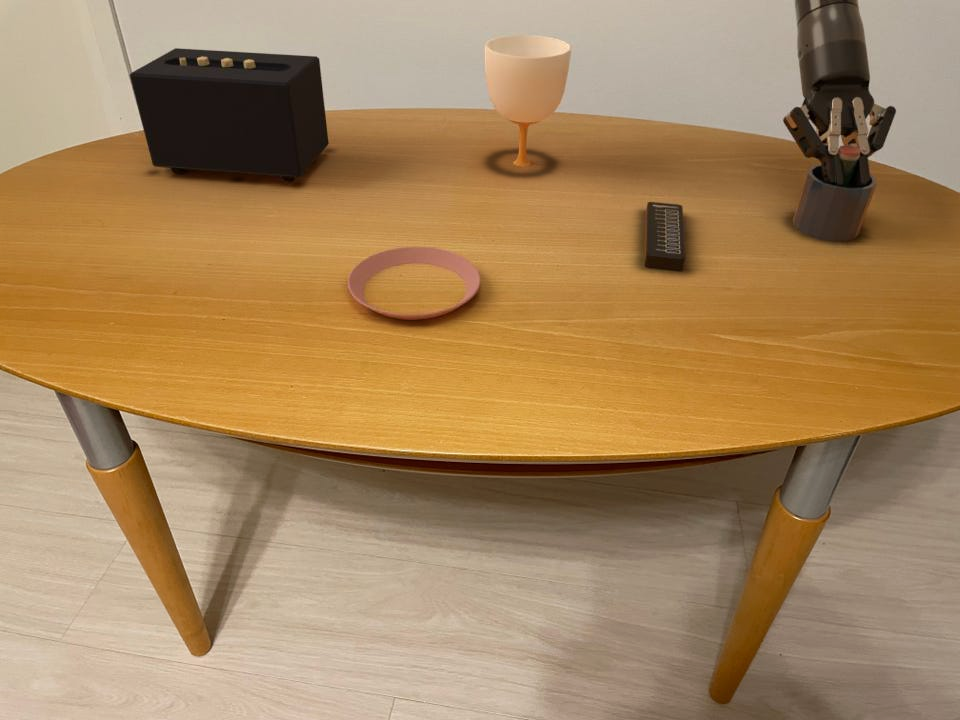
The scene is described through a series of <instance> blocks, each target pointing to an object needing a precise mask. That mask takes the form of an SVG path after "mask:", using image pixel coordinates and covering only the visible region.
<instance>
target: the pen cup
mask: <svg viewBox="0 0 960 720" xmlns="http://www.w3.org/2000/svg"><path fill="white" fill-rule="evenodd" d="M877 183H878V182H877V178H876V177H875V175H873V174H871V173H870V180H869V182H868V183H867V185H866V187H862V188H851V182H850V185H849V188H847V187H839V186H835V185H831V184H828V183H825V182H823V174H822V166H821V163H817V164H815V165H811V167H809V168H807V171H806V175H805V178H804V181H803V184H802V188H801V192H800V194H799V198H798V202H797V205H796V208H795V211H794V214H793V219H792V225H793V227H794V228H795V229H796V230H797V231H798V232H800V233H802V234H803V235H806V236H807V237H810V238H814V239H816V240H820V241H824V242H831V243H832V242H833V243H841V242H849V241H851V240H852V241H853V240H855V239H856V238H857V237H858V236H859V234H860V231H861V228H862V226H863V223H864V220H865V217H866V215H867V213H868V210H869V206H870V204H871V201H872V198H873V195H874V193H875V189H876V187H877Z"/></svg>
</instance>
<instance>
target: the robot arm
mask: <svg viewBox="0 0 960 720" xmlns="http://www.w3.org/2000/svg"><path fill="white" fill-rule="evenodd" d="M794 12H795V20H796V27H797V28H796V29H797V30H796V31H797V32H796V33H797V36H796V37H797V38H796V49H797V59H798V67H799V76H800V84H801V92H802V93H801V94H802V97H803V98H804V99H803V101H802V104H801V106H800V107H799V106H795V107H793V109H792V110H790V111H789V112H788V113H787V114H786V115H785V116H784V117H783V119H782V122H783V124H784V126H785V127H786V129H787V130H788V132H789V134H790V135H791V137H792V138H793V140H794V141H795V143H796V145H797V146H798V148H799V149H800V151H801V152H802V154H803V156H804V157H805V158H806V159H811V158H814V159H817V160H818V161H819V162H820V164H821V166H822V174H823V182H825V183H828V184H831V185H835V186H839V187H842V186H843V175H842V167H841V159H840V156H837V153H838V151H839V147H840V146H839V145H840V143H839V141H840V139H839V138H841V142H842V144H843V145H849V146H854V147H857V148H859V149H860V150H861V152H860V157H859V159H858V161H857V164H856V167H855V170H854V173H853V176H852V179H851V188H862V187H866V185H867V183H868V182H869V180H870V174H871V173H870V164H869V158H870V157H871V156H873V155H874V154H875V153H877V152H878V151H880V150H882V149H883V148H884V145H885V143H886V141H887V137H888V135H889V132H890V130H891V127H892V124H893V121H894V119H895V116H896V113H897V109H896V107H895V106H894V105H889V106H887V107H883V106H881V105H879V104H876V103H875V99H874V97H873V95H872V94H871V92H870V81H871V73H870V66H869V58H868V57H869V56H868V50H867V42H866V35H865V34H866V33H865V28H864V22H863V20H862V16H861V13H860V6H859V0H794ZM868 116H869V123H868V124H869V126H870V130H869V128H868V124H867V121H866V120H867V118H868ZM812 124H813V125H812ZM813 126H814V127H815V128H816V129H815V128H814V127H813ZM843 145H842V146H843Z"/></svg>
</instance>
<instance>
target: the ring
mask: <svg viewBox="0 0 960 720" xmlns="http://www.w3.org/2000/svg"><path fill="white" fill-rule="evenodd" d="M403 265H429V266H436V267H440V268H443V269H445V270H448V271H451V272H452V273H454V274H455V275H457V276H458V277H459V278H460V279H461V280H462V281H463V283H464V286H465V293H464V295H463V297H462V299H461V300H460V301H459V302H458V303H457V304H455V305H452V306H450V307H447V308H444V309H440V310H436V311H431V312H423V313H399V312H393V311H392V312H391V311H386V310H383V309H379V308H377V307H374V306H372V305H371V304H370V303H369V302H368V301H367V299H366V297H365V293H364V291H365V287H366V284H367V283H368V282H369V280H371V278H373V277H374V276H375V275H376V274H379V273H380V272H382V271H384V270H385V271H386V270H388V269H390V268H394V267H398V266H403ZM481 281H482V280H481V273H480V271H479V270H478V268H477V267H476V265H475V264H474V263H473V262H472V261H470V260H469V259H467V258H465V256H463V255H460V254H458V253H456V252H454V251H450V250H447V249H444V248H443V249H442V248H437V247H431V246H404V247H396V248H391V249H387V250H383V251H380V252H377V253H375V254H372V255H370V256H368V257H366V258H364V259H363V260H361V261H359V263H358V264H356V265H355V266H354V267H353V268H352V270H351V271H350V273H349V275H348V277H347V288H348V291H349V293H350V295H351V296H352V297H353V299H354V300H356V301H357V302H358V303H359V304H361V305H362V306H364V307H365V308H368V309H369V310H371V311H373V312H375V313H377V314H379V315H381V316H385V317H388V318H392V319H398V320H405V321H408V320H409V321H410V320H411V321H413V320H415V321H416V320H417V321H418V320H427V319H433V318H437V317H441V316H444V315H446V314H449V313H451V312H453V311H455V310H457V309H458V308H459V307H461V306H463V305H465V304H466V303H467V302H470V300H472V299H473V298H474V297H475V296H476V294H477V293H478V291H479V289H480V287H481V283H482V282H481Z"/></svg>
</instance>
